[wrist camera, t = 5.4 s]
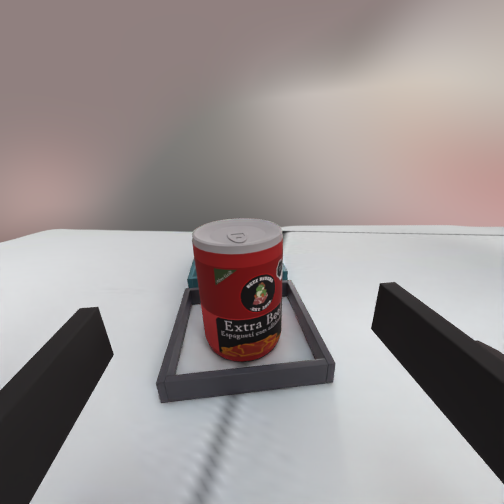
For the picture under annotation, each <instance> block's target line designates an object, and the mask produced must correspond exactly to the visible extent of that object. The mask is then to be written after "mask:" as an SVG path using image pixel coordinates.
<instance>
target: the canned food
mask: <svg viewBox="0 0 504 504" xmlns="http://www.w3.org/2000/svg"><path fill="white" fill-rule="evenodd" d="M192 237H193V238H192V243H193V251H194V259H195V266H196V273H197V280H198V287H199V294H200V301H201V308H202V315H203V322H204V329H205V336H206V339H207V341H208V343H209V345H210V346H211V348H212V349H213V350H214V352H215V353H217V354H218V355H219V356H221V357H223V358H225V359H228V360H232V361H241V362H243V361H251V360H255V359H258V358H261V357H263V356H265V355H266V354H268V353H269V352H270V351H271V350H272V349H273V348H274V347H275V345H276V344H277V342H278V339H279V337H280V333H281V317H282V265H283V235H282V228H281V227H280V226H279V225H277V224H275V223H273V222H270V221H266V220H261V219H250V218H249V219H248V218H238V219H225V220H219V221H214V222H211V223H207V224H205V225H202V226H200V227H198V228H197V229H195V230H194V231H193V233H192Z"/></svg>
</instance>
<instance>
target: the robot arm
mask: <svg viewBox="0 0 504 504" xmlns="http://www.w3.org/2000/svg"><path fill="white" fill-rule="evenodd" d="M371 329H372V330H373V332H374V333H375V334H376V335H377V336H378V337H379V339H380V340H381V341H382V342H383V343H384V344H385V346H386V347H387V348H388V349H389V350H390V352H391V353H392V354H393V355H394V356H395V357H396V359H397V360H398V361H399V362H400V363H401V364H402V366H403V367H404V368H405V369H406V370H407V371H408V373H409V374H410V375H411V376H412V377H413V378H414V380H415V381H416V382H417V383H418V384H419V385H420V387H421V388H422V389H423V390H424V391H425V392H426V394H427V395H428V396H429V397H430V398H431V400H432V401H433V402H434V403H435V404H436V405H437V407H438V408H439V409H440V410H441V411H442V412H443V414H444V415H445V416H446V417H447V418H448V419H449V421H450V422H451V423H452V424H453V425H454V426H455V428H456V429H457V430H458V431H459V432H460V433H461V435H462V436H463V437H464V438H465V439H466V440H467V442H468V443H469V444H470V445H471V446H472V447H473V449H474V450H475V451H476V452H477V453H478V455H479V456H480V457H481V458H482V459H483V460H484V462H485V463H486V464H487V465H488V466H489V467H490V469H491V470H492V471H493V472H494V473H495V474H496V476H497V477H498V478H499V479H500V480H501V481H502V483H503V484H504V354H502V353H501V352H499V351H498V350H496V349H494V348H492V347H490V346H488V345H486V344H484V343H482V342H480V341H474V340H473V339H472V338H470V337H469V336H468V335H466V334H465V333H464V332H462V331H461V330H459V329H458V328H457V327H455V326H454V325H453V324H451V323H450V322H449V321H447V320H446V319H444V318H443V317H442V316H440V315H439V314H438V313H436V312H435V311H434V310H432V309H431V308H429V307H428V306H427V305H425V304H424V303H423V302H421V301H420V300H418V299H417V298H416V297H414V296H413V295H412V294H410V293H409V292H408V291H406V290H405V289H403V288H402V287H401V286H399V285H398V284H397V283H395V282H391V283H380V286H379V291H378V296H377V301H376V306H375V312H374V317H373V322H372V327H371ZM113 355H114V354H113V351H112V348H111V345H110V342H109V339H108V336H107V333H106V329H105V326H104V323H103V320H102V317H101V314H100V311H99V308H98V307H90V308H80V309H79V310H78V311H77V312H76V313H75V314H74V315H73V316H72V317H71V318H70V319H69V320H68V321H67V322H66V323H65V324H64V325H63V326H62V327H61V328H60V329H59V330H58V331H57V332H56V333H55V335H54V336H53V337H52V338H51V339H50V340H49V341H48V342H47V343H46V344H45V345H44V346H43V347H42V348H41V349H40V350H39V351H38V352H37V353H36V354H35V355H34V356H33V357H32V358H31V359H30V360H29V361H28V362H27V363H26V364H25V365H24V367H23V368H22V369H21V370H20V371H19V372H18V373H17V374H16V375H15V376H14V377H13V378H12V379H11V380H10V381H9V382H8V383H7V384H6V385H5V386H4V387H3V388H2V389H1V390H0V504H29V503H30V501H31V499H32V498H33V496H34V494H35V492H36V491H37V489H38V487H39V485H40V484H41V482H42V480H43V478H44V477H45V475H46V473H47V471H48V470H49V468H50V466H51V464H52V463H53V461H54V459H55V457H56V455H57V454H58V452H59V450H60V448H61V447H62V445H63V443H64V441H65V440H66V438H67V436H68V434H69V433H70V431H71V429H72V427H73V426H74V424H75V422H76V420H77V418H78V417H79V415H80V413H81V411H82V410H83V408H84V406H85V404H86V403H87V401H88V399H89V397H90V396H91V394H92V392H93V390H94V389H95V387H96V385H97V383H98V381H99V380H100V378H101V376H102V374H103V373H104V371H105V369H106V367H107V366H108V364H109V362H110V360H111V359H112V357H113Z"/></svg>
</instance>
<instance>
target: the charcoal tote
mask: <svg viewBox="0 0 504 504" xmlns="http://www.w3.org/2000/svg"><path fill="white" fill-rule="evenodd" d="M282 296H288V298H289V301H290V303H291V305H292V307H293V310H294V312H295V314H296V316H297V319H298V321H299V323H300V325H301V328H302V330H303V332H304V334H305V337H306V339H307V341H308V343H309V346H310V348H311V350H312V352H313V355H314V357H315V359H316V360H307V361H298V362H289V363H280V364H271V365H262V366H253V367H244V368H235V369H226V370H217V371H208V372H199V373H190V374H181V375H175V373H176V369H177V365H178V361H179V356H180V352H181V348H182V343H183V339H184V335H185V331H186V326H187V322H188V318H189V313H190V309H191V305H192V304H200V303H201V301H200V294H199V287H198V288H186V289H185V292H184V295H183V298H182V301H181V305H180V308H179V311H178V314H177V318H176V321H175V324H174V327H173V331H172V334H171V337H170V340H169V343H168V347H167V350H166V353H165V356H164V360H163V363H162V366H161V369H160V373H159V376H158V379H157V382H156V385H157V389H158V393H159V397H160V401H161V403H163V402H169V401H170V402H171V401H180V400H188V399H196V398H205V397H213V396H221V395H230V394H238V393H247V392H255V391H263V390H272V389H280V388H288V387H297V386H305V385H314V384H322V383H330V382H333V378H334V371H335V362H334V360H333V358H332V356H331V354H330V352H329V351H328V349H327V347H326V345H325V343H324V341H323V339H322V337H321V335H320V334H319V332H318V330H317V328H316V326H315V324H314V322H313V320H312V319H311V317H310V315H309V313H308V311H307V309H306V307H305V305H304V303H303V302H302V300H301V298H300V296H299V294H298V292H297V290H296V288H295V287H294V285H293V283H292V281H291V280H287V281H286V280H283V281H282Z"/></svg>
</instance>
